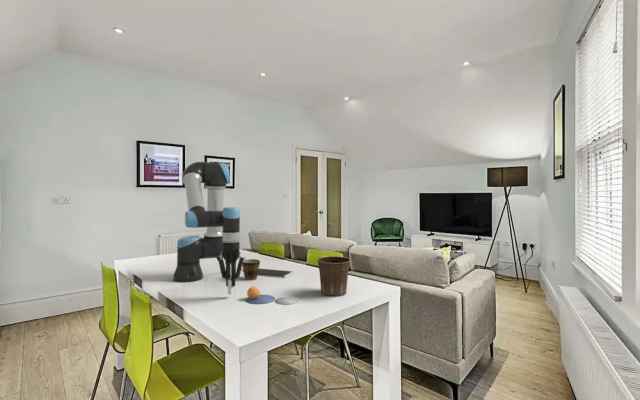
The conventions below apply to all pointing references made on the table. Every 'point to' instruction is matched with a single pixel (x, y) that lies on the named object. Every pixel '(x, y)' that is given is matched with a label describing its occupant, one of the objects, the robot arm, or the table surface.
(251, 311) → the table surface
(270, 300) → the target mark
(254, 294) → the ball
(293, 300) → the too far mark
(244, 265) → the ceramic cup
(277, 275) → the dark grey flat slab
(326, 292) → the plant pot
